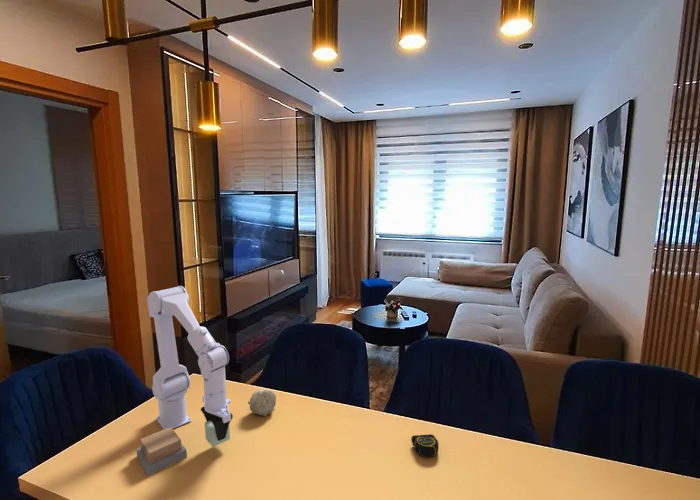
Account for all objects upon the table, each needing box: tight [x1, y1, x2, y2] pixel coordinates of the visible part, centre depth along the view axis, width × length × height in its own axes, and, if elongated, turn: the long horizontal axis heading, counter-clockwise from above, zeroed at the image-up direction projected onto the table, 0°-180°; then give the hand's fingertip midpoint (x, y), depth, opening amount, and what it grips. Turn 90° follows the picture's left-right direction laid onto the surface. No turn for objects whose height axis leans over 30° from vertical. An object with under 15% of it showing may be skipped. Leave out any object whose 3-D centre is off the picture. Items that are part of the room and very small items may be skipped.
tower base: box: [135, 442, 188, 477], centre depth 103 cm, size 10×10×3 cm
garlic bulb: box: [247, 388, 277, 417], centre depth 123 cm, size 9×8×10 cm
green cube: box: [204, 420, 231, 448], centre depth 106 cm, size 5×5×5 cm
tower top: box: [139, 427, 182, 464], centre depth 102 cm, size 8×8×3 cm
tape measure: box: [410, 434, 439, 458], centre depth 105 cm, size 7×7×4 cm
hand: (217, 434), depth 106 cm, fingers closed on green cube, 5 cm apart
